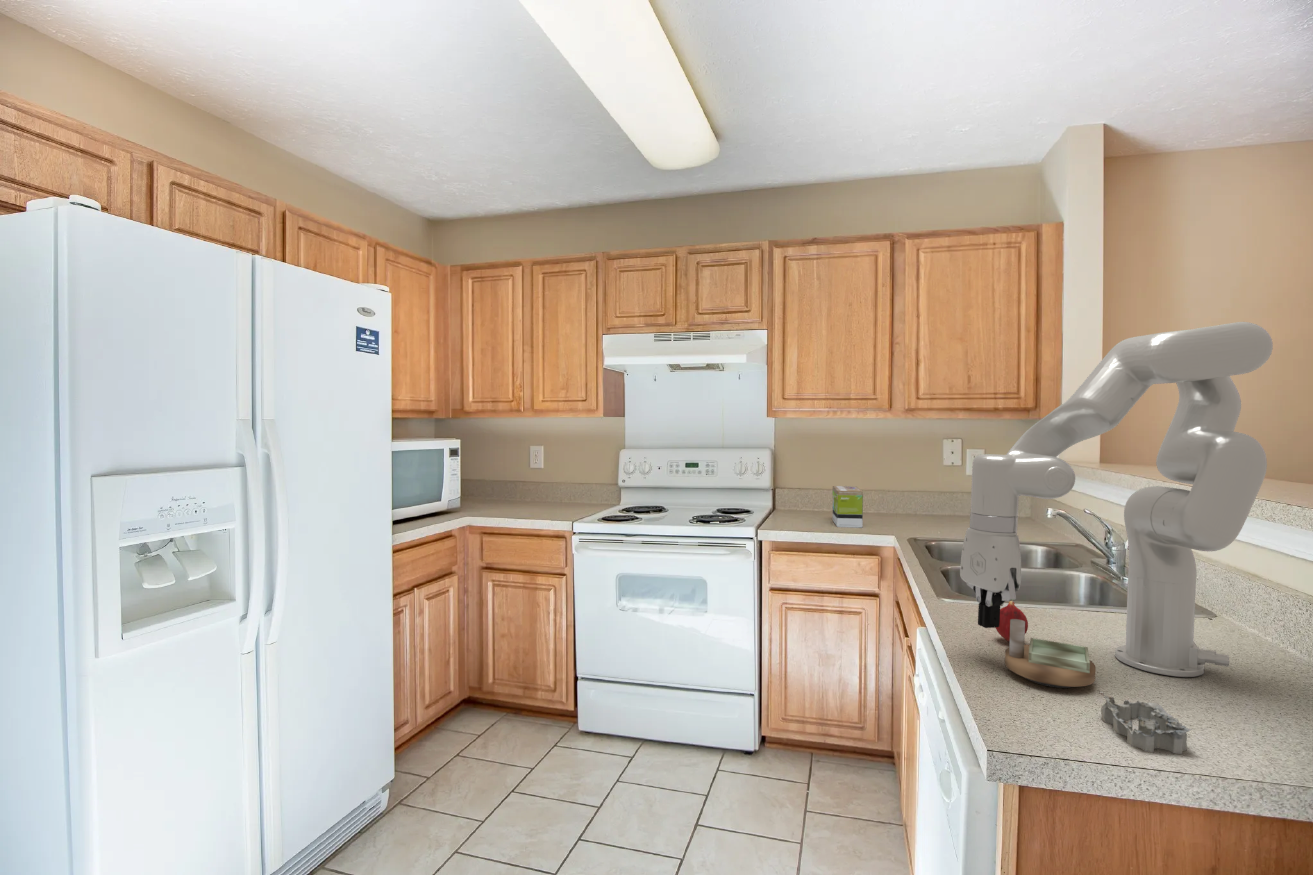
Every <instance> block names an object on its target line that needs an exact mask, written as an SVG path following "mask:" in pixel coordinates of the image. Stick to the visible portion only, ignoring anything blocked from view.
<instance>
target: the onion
mask: <svg viewBox="0 0 1313 875" xmlns="http://www.w3.org/2000/svg"><path fill="white" fill-rule="evenodd" d="M1024 613H1025V612H1023V611H1022V610H1021V609H1020V608H1018V607H1017V606H1016V604H1015V602H1014V601H1008V604H1007V605H1005V606H1004V607H1002V608H1001V607H1000V625H999V627H996V628H995V629H996V632H997V633H998V634H999V635H1000V636H1001V637H1002V638H1003V639H1004V640H1006V641H1007V642H1008V643H1010V620H1011V619H1019V620H1023V621H1025V635H1026V634H1027V632H1028V629H1029V620H1028V618H1027V616H1026V615H1025V614H1024Z"/></svg>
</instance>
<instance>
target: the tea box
mask: <svg viewBox="0 0 1313 875" xmlns="http://www.w3.org/2000/svg"><path fill="white" fill-rule="evenodd" d="M863 509H864V491H863V490H862V489H860V488H859V487H858V486H853V485H852V486H851V485H849V486H847V485H834V486H832V521H833V522H834V524H835V526H836V527H837V528H850V529H852V528H853V529H855V528H857V529H860V528H861V529H862V528H863V524H864V523H863V521H864V518H863V516H864V515H863V513H864V510H863Z"/></svg>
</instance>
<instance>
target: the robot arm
mask: <svg viewBox="0 0 1313 875" xmlns="http://www.w3.org/2000/svg"><path fill="white" fill-rule="evenodd" d="M1273 345H1274V344H1273V339H1272V337H1271V335H1270V333H1269V332H1268V331H1267V330H1266V329H1265V328H1264V327H1263V326H1260V325H1258V324H1256V323H1253V322H1248V321H1237V322H1231V323H1224V324H1219V325H1212V326H1203V327H1198V328H1192V329H1191V328H1190V329H1185V330H1184V329H1183V330H1182V329H1181V330H1175V331H1174V330H1173V331H1164V332H1163V331H1162V332H1158V333H1151V334H1144V335H1138V336H1134V337H1133V336H1132V337H1128V338H1126V339H1123V340H1121V341H1119V342H1118V343H1117V344H1115V345H1114V346H1113V347H1112V348H1111V349H1110V350H1109V351H1108V352H1107V353H1106V355H1105V356H1104V357H1103V358H1102V360H1100V362H1099V363H1098V364H1097V365H1096V366H1095V367H1094V369H1093V370H1092V371H1091V373H1090V374H1089V375H1087V377H1086V379H1085V380H1084V381H1083V382H1082V384H1080V385H1079V386H1078V388H1077V389H1076V390H1075V391H1074V393H1073V394H1072V395H1071V396H1070V397H1069V398H1068V399H1067V400H1066V401H1064V402H1063V403H1061V404H1060V405H1059V406H1057V407H1056V408H1054V409H1053V410H1052V411H1050V412H1049V413H1048V414H1047V415H1045V416H1044V417H1043V418H1041V419H1040V420H1038V421H1037V422H1036V423H1034V424H1033V425H1032V426H1030V428H1028V429H1027V430H1026V431H1025V432H1024V433H1023V434H1022V435H1021V436H1020V437H1019V438H1018V439H1017V440H1016V442H1015V443H1014V445H1012V447H1011V448H1009V450H1008V451H1007V453H1005V454H996V453H995V454H993V453H992V454H990V453H989V454H988V453H987V454H984V453H983V454H978V455H976V456H975V457H974V458H973V461H972V466H971V468H972V470H971V471H972V472H971V489H970V490H971V491H970V492H971V493H970V513H969V527H967V528H966V532H965V535H964V538H963V544H962V550H961V557H960V567H959V568H960V570H959V575H960V579H961V580H962V581H963V582H965V583H966V585H967V586H968V587H969V588H970V589H972V590H973V592H974V593H975V601H976V602H977V603H978V612H977V615H978V616H977V625H978V626H980V627H982V628H985V629H993V628H995V629H996V627H999V625H1000V609H1001V607H1002V606H1004V604H1005V602H1010V601H1013V602H1014V601H1016V599H1017V596H1016V592H1018V591H1019V590H1020V587H1021V581H1022V556H1021V555H1022V554H1021V546H1020V538H1019V535H1018V524H1019V522H1018V521H1019V501H1020V496H1021V497H1023V496H1024V497H1030V498H1037V499H1042V500H1054V499H1059V498H1061V497H1064V496H1066V495H1068V494H1069V493H1070V492H1071V491H1072V489H1073V488H1074V486H1075V483H1076V474H1075V471H1074V469H1073V468H1072V466H1071V465H1070V464H1069V463H1068V462H1067V461H1065V460H1063V459H1061V458H1059V457H1058V456H1060V455H1061V454H1062V453H1063V452H1065V451H1066V450H1068V449H1069V448H1070V447H1073V446H1075V445H1077V444H1079V443H1081V442H1083V441H1086V440H1089V439H1092V438H1095V437H1098V436H1100V435H1103V434H1106V433H1107V432H1109V431H1111V430H1113V429H1114V428H1115V427H1117V426H1118V425H1119V424H1120V423H1121V421H1122V420H1123V419H1124V418H1125V417H1126V415H1128V413H1129V412H1130V410H1132V408H1133V407H1134V406H1136V405H1135V404H1136V403H1138V401H1139V400H1141V398H1142V396H1144V394H1145V393H1146V392H1147V391H1148V389H1150V387H1152V386H1153V385H1159V384H1175V383H1176V386H1177V390H1178V395H1179V397H1178V404H1177V406H1176V409H1175V412H1174V414H1173V417H1172V419H1171V422H1170V425H1169V427H1168V428H1167V431H1166V433H1165V435H1164V438H1163V439H1162V440H1163V441H1162V442H1161V445H1160V447H1159V450H1158V452H1157V455H1156V460H1155V464H1156V467H1157V470H1158V472H1159V473H1160V474H1161V475H1162V476H1163V477H1164V478H1166V479H1168V480H1170V481H1173V482H1178V483H1181V484H1187V485H1192V486H1191V488H1190V490H1188V489H1183V488H1177V487H1176V488H1175V487H1170V486H1162V485H1161V486H1159V485H1155V486H1154V485H1153V486H1147V487H1143V488H1140V489H1138V490H1136V491H1135V492H1134V493H1131V495H1130V496H1129V497H1128V498H1127V501H1126V502H1125V505H1124V510H1123V520H1124V525H1125V526H1124V527H1125V531H1126V535H1127V544H1128V570H1127V571H1128V573H1127V576H1128V577H1127V594H1126V595H1127V596H1126V620H1125V621H1126V622H1125V623H1126V624H1125V644H1124V645H1118V646H1117V647H1116V648H1115V649H1114V656H1115V658H1116V659H1117V660H1118V661H1120V662H1122V663H1123V664H1125V665H1128V666H1130V667H1132V668H1134V669H1138V670H1142V671H1145V672H1149V673H1152V674H1157V675H1163V676H1170V677H1180V678H1195V677H1199V676H1202V675H1203V674H1204V673H1205V664H1206V663H1207V664H1213V665H1215V666H1221V667H1227V668H1228V667H1230V656H1229V654H1223V653H1217V651H1216V650H1212V649H1203V648H1200V647H1199V646H1197V645H1196V643H1195V640H1194V639H1195V638H1194V637H1195V635H1194V634H1195V619H1196V618H1195V617H1196V616H1195V614H1196V591H1197V590H1196V588H1197V587H1196V586H1197V576H1198V575H1197V573H1198V572H1197V564H1196V563H1197V562H1196V559H1195V556H1194V553H1193V550H1196V551H1200V552H1207V553H1208V552H1216V551H1220V550H1223V549H1225V548H1227V547H1229V546H1230V545H1231V544H1232V543H1233V542H1234V541H1235V540H1236V539H1237V537H1238V536H1239V534H1240V533H1241V531H1242V529H1243V527H1244V525H1245V524H1246V520H1247V518H1248V516H1249V514H1250V511H1251V509H1252V507H1253V505H1254V502H1255V500H1256V498H1257V496H1258V494H1259V492H1260V489H1261V487H1262V485H1263V482H1264V480H1265V477H1266V474H1267V469H1268V462H1267V455H1266V451H1265V450H1264V447H1263V446H1262V445H1261V443H1260V441H1258V440H1257V439H1256V438H1254V437H1253V436H1251V435H1249V434H1246V433H1243V432H1238V431H1235V428H1236V426H1237V422H1238V420H1239V417H1240V413H1241V409H1242V400H1241V396H1240V393H1239V390H1238V389H1237V386H1236V385H1235V382H1234V381H1233V379H1232V377H1233V376H1237V375H1245V374H1249V373H1251V372H1254V371H1256V370H1258V369H1259V368H1261V367H1262V366H1264V365H1265V363H1267V362H1268V360H1269V359H1270V358H1271V355H1272V352H1273V349H1274V348H1273ZM1231 376H1232V377H1231Z"/></svg>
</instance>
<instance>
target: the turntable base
mask: <svg viewBox="0 0 1313 875" xmlns="http://www.w3.org/2000/svg"><path fill="white" fill-rule="evenodd" d="M1023 678H1025V677H1023ZM1025 679H1026V680H1028V681H1030V682H1031V683H1035V684H1038V685H1042V686H1045V687H1050V688H1057V689H1069V688H1071V687H1070V686H1059V685H1052V684H1047V683H1042V682H1038V681H1034V680H1031V679H1028V678H1025Z"/></svg>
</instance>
